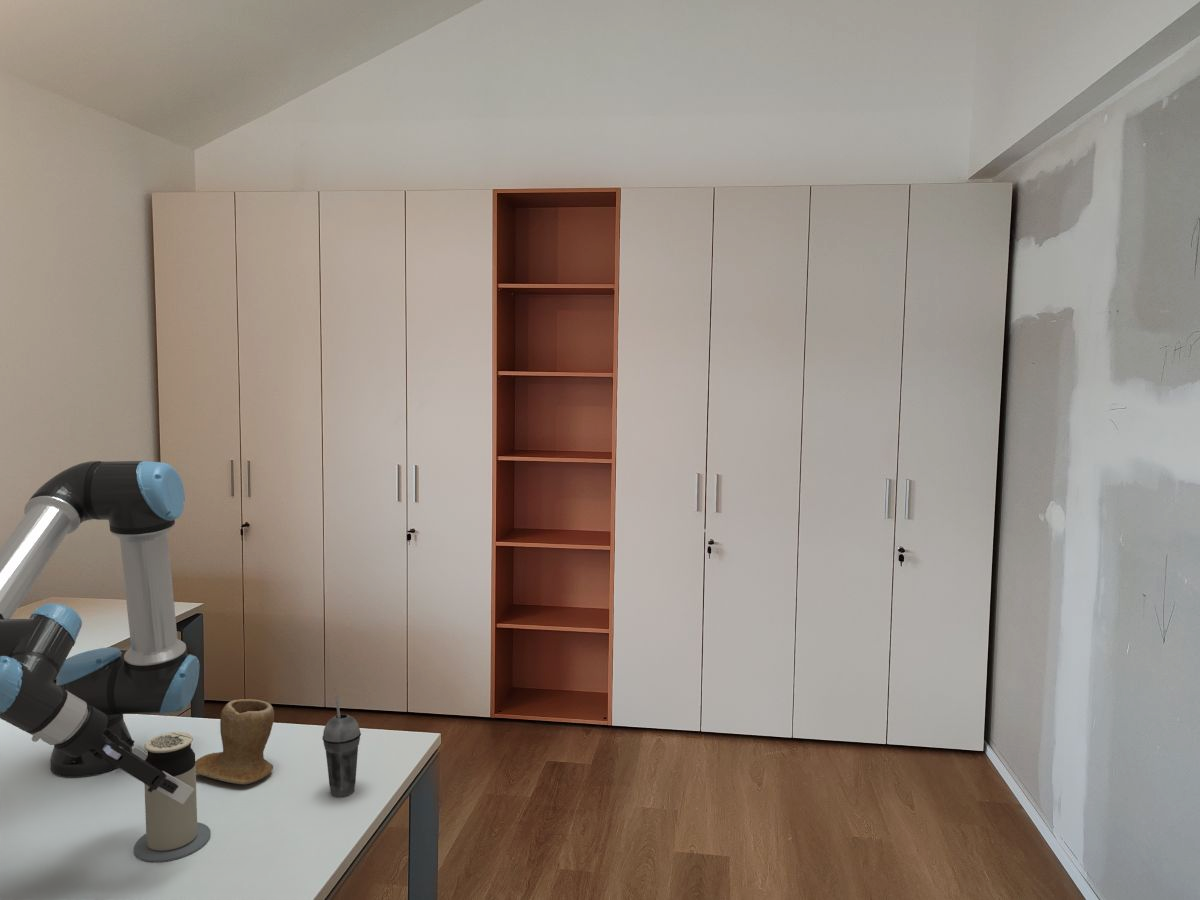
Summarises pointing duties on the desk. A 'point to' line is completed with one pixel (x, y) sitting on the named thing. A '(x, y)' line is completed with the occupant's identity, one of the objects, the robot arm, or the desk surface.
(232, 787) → the desk surface
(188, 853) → the mat
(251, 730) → the stone cup
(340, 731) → the beverage cup
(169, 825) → the travel mug
